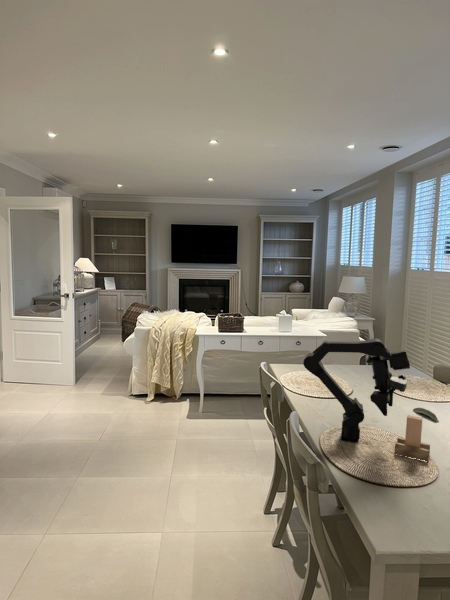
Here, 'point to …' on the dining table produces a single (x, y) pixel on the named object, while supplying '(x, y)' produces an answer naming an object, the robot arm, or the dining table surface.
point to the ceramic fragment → (427, 412)
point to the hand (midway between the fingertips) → (388, 410)
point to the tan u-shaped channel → (412, 450)
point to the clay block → (413, 431)
